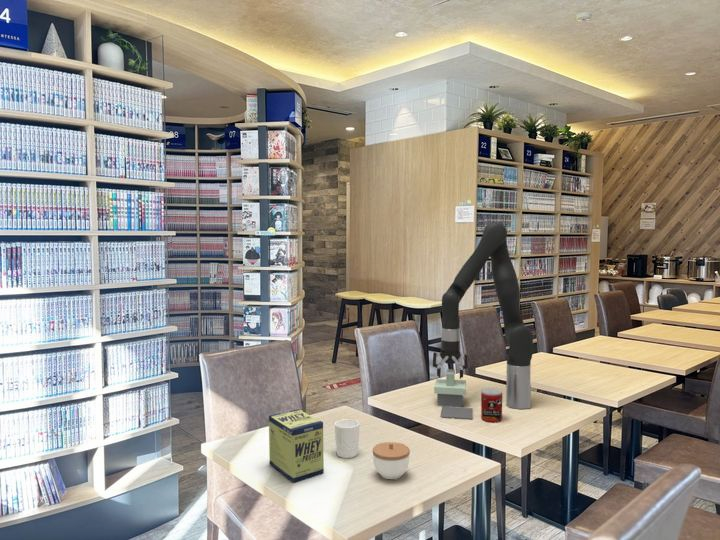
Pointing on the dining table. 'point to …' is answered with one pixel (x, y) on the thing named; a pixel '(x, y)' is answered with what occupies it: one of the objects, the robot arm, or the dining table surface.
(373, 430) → the dining table surface
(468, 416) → the mat
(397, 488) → the dining table surface
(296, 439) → the protein box
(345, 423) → the white cup
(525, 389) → the robot arm
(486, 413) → the canned food
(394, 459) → the lidded jar
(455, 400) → the tub
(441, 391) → the lid
